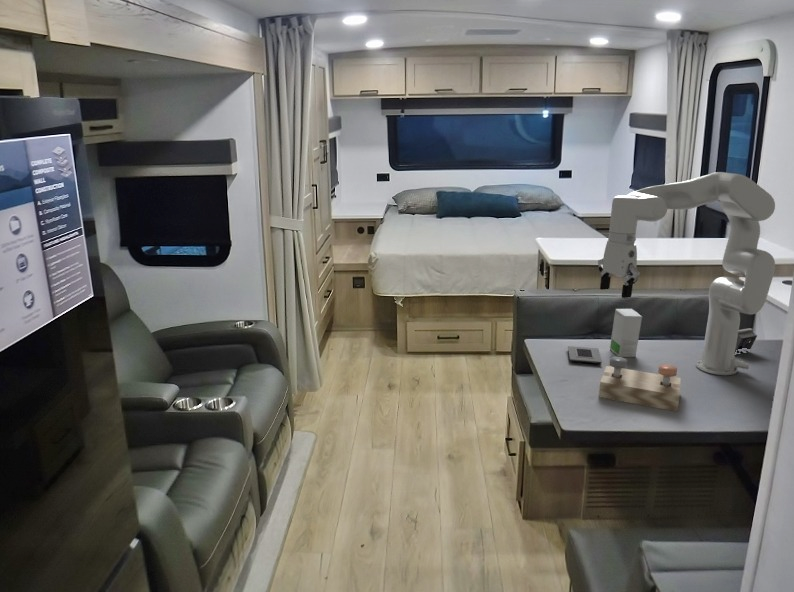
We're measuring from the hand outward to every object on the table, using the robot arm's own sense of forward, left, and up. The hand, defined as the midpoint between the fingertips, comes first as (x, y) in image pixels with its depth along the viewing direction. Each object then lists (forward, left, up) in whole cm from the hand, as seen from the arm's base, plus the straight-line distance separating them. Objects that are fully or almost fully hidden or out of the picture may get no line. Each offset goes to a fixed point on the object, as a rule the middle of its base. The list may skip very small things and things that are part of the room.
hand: (615, 293), depth 196 cm
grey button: (-4, +4, -26) cm, 27 cm away
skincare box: (-3, -31, -30) cm, 43 cm away
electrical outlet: (+9, -20, -31) cm, 38 cm away
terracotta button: (-18, +4, -26) cm, 32 cm away
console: (-11, +4, -30) cm, 32 cm away
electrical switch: (-41, -50, -30) cm, 71 cm away
